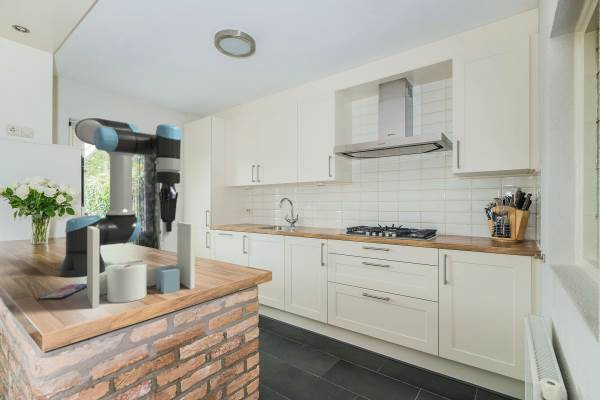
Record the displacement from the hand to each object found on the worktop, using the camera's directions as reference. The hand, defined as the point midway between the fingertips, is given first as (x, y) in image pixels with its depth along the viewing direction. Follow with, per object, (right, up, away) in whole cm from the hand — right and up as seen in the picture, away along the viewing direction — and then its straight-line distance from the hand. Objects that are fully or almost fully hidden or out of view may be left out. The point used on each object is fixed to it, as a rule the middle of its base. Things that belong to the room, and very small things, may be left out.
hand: (167, 241), depth 101 cm
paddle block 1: (-2, -16, +2) cm, 17 cm away
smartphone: (-31, -17, -3) cm, 36 cm away
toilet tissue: (-9, -17, -8) cm, 20 cm away
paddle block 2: (+2, -16, -2) cm, 17 cm away
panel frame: (-6, -16, -3) cm, 18 cm away
